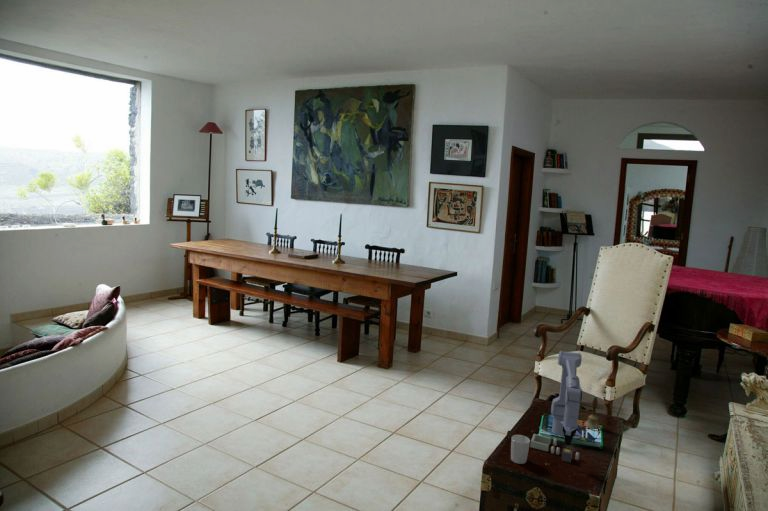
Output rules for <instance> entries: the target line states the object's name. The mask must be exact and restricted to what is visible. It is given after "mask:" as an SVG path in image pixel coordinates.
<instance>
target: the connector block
mask: <svg viewBox="0 0 768 511" xmlns="http://www.w3.org/2000/svg"><path fill="white" fill-rule="evenodd" d="M561 452H562V453H561V460H560V461H561V462H562V461H563V462H566V463H572V459H573V458H572V457H573V450H572V449H568V448H562V451H561Z"/></svg>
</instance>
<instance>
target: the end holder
mask: <svg viewBox="0 0 768 511" xmlns="http://www.w3.org/2000/svg"><path fill="white" fill-rule="evenodd" d="M551 442H552V437H549V436H545V435H541V434H538V433H537V434H536V433H533V435H532V438H531V439H530V444H529V448H532V449H537V450H539V451H544V452H549V446H550V445H551Z"/></svg>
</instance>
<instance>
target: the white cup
mask: <svg viewBox="0 0 768 511" xmlns="http://www.w3.org/2000/svg"><path fill="white" fill-rule="evenodd" d="M510 441H511V442H510V460H511V461H512V462H513V463H515V464H518V465H524V464H526V463H527V460H528V454H529V448H530V443H531V439H530V438H529V437H528V436H526V435H522V434H514V435H512V436H511V440H510Z"/></svg>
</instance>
